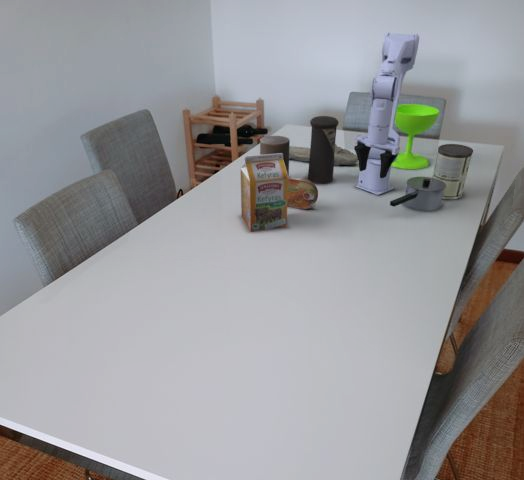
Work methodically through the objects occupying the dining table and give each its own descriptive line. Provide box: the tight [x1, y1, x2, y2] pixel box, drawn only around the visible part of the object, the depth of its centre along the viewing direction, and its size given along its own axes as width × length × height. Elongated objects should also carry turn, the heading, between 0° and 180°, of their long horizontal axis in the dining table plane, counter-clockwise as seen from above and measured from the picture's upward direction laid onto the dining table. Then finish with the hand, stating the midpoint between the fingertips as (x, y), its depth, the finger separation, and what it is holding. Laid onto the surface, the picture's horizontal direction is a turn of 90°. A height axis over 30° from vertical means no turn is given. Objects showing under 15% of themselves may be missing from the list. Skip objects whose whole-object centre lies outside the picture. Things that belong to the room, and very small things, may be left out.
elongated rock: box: [289, 143, 358, 167], centre depth 189 cm, size 35×5×10 cm
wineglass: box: [391, 103, 440, 170], centre depth 183 cm, size 16×16×18 cm
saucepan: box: [389, 176, 446, 212], centre depth 153 cm, size 12×22×8 cm, turn 131°
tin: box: [287, 176, 319, 210], centre depth 154 cm, size 15×3×8 cm, turn 62°
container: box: [307, 115, 340, 185], centre depth 167 cm, size 9×9×20 cm
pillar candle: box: [259, 135, 290, 177], centre depth 168 cm, size 10×10×15 cm
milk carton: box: [240, 153, 288, 233], centre depth 141 cm, size 11×11×19 cm
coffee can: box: [432, 143, 474, 200], centre depth 160 cm, size 10×10×14 cm
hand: (372, 173), depth 149 cm, fingers open, 7 cm apart
